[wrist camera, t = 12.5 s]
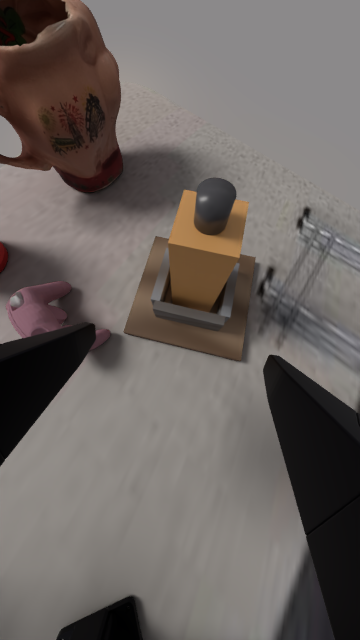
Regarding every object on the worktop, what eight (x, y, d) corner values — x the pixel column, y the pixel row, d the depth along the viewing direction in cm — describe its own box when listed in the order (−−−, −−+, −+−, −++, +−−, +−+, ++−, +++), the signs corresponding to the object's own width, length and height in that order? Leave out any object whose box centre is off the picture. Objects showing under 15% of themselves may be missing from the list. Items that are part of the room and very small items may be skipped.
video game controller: (54, 305, 24) (-16, 303, 18) (70, 279, 23) (3, 267, 16) (96, 358, 22) (37, 378, 16) (117, 333, 21) (62, 344, 15)
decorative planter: (72, 239, 25) (-45, 93, 12) (12, 201, 27) (-149, 37, 14) (153, 157, 30) (134, -12, 17) (98, 130, 32) (41, -45, 18)
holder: (237, 361, 21) (251, 359, 17) (125, 333, 22) (114, 326, 18) (252, 261, 25) (266, 242, 21) (156, 241, 25) (152, 218, 22)
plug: (208, 312, 22) (252, 234, 9) (172, 304, 22) (165, 216, 9) (215, 279, 23) (262, 170, 10) (180, 272, 23) (185, 156, 11)
